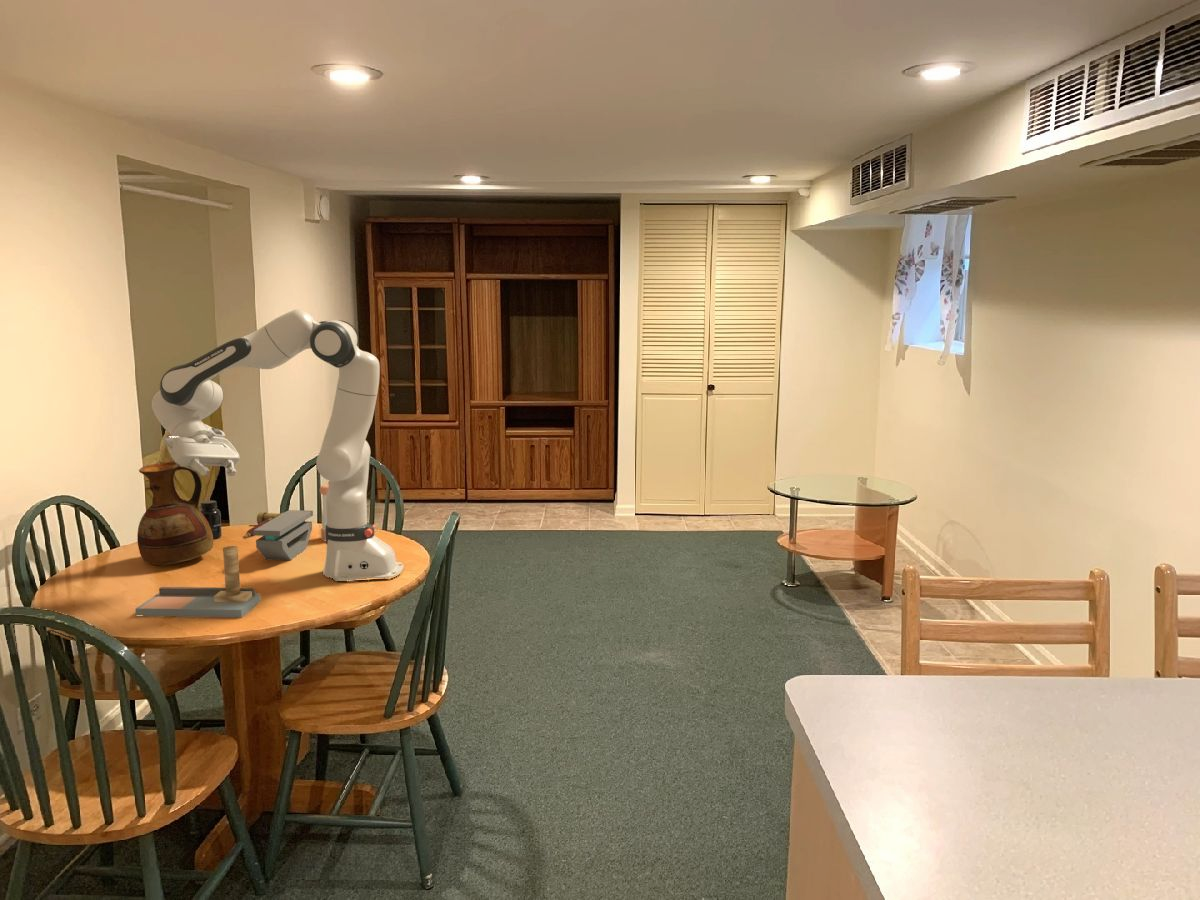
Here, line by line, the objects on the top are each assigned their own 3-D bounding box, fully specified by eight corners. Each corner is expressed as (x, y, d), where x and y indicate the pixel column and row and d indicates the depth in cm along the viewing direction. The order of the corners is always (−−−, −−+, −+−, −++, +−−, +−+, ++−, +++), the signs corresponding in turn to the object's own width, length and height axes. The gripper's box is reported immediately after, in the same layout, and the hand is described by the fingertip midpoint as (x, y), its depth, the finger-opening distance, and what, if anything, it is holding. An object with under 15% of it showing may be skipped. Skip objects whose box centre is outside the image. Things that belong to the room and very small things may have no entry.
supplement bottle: (220, 539, 284) (218, 503, 282) (197, 541, 282) (195, 504, 280) (223, 534, 291) (220, 499, 289) (200, 535, 289) (198, 500, 287)
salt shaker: (317, 538, 287) (315, 481, 284) (339, 534, 292) (336, 478, 288) (326, 543, 282) (324, 484, 278) (348, 539, 286) (346, 482, 283)
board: (260, 600, 228) (259, 586, 227) (241, 617, 216) (240, 602, 215) (160, 599, 227) (158, 585, 227) (135, 616, 216) (134, 601, 215)
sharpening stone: (290, 543, 281) (288, 510, 280) (314, 543, 281) (312, 510, 279) (255, 566, 257) (253, 530, 255) (281, 567, 256) (279, 531, 255)
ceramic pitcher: (131, 558, 262) (123, 460, 257) (201, 547, 276) (195, 453, 271) (150, 574, 248) (142, 470, 243) (223, 561, 261) (217, 462, 256)
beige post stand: (252, 596, 225) (249, 545, 222) (246, 602, 221) (243, 550, 218) (221, 596, 225) (217, 545, 222) (214, 601, 221) (210, 549, 218)
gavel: (259, 530, 285) (230, 529, 286) (260, 544, 286) (231, 542, 287) (289, 511, 305) (262, 510, 306) (290, 523, 306) (263, 522, 307)
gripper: (167, 427, 227) (196, 465, 223) (227, 431, 246) (254, 466, 242) (154, 444, 228) (182, 482, 224) (214, 447, 247) (241, 482, 243)
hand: (220, 474), depth 233 cm, fingers open, 8 cm apart
